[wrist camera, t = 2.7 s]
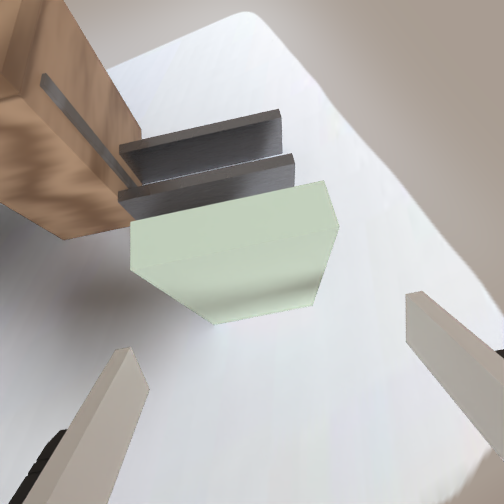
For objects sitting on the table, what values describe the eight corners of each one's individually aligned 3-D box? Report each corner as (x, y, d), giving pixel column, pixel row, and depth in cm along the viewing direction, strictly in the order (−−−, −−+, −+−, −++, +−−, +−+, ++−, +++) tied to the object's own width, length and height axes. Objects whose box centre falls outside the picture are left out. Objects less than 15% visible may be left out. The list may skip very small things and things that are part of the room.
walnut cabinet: (58, 245, 31) (-174, 114, 16) (70, 142, 37) (-88, -26, 22) (147, 226, 31) (0, 73, 15) (144, 125, 37) (38, -59, 21)
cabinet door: (213, 325, 26) (130, 270, 12) (210, 291, 27) (130, 207, 14) (312, 305, 26) (339, 226, 12) (303, 272, 27) (319, 166, 13)
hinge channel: (142, 227, 31) (117, 201, 26) (142, 175, 34) (119, 144, 29) (294, 195, 30) (294, 163, 26) (280, 145, 33) (278, 108, 29)
